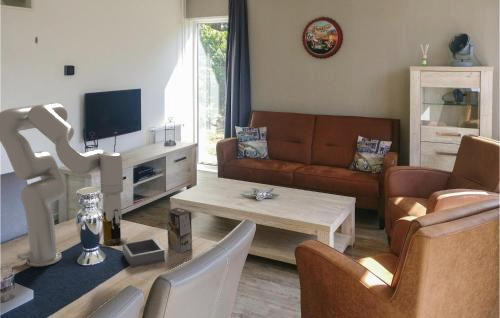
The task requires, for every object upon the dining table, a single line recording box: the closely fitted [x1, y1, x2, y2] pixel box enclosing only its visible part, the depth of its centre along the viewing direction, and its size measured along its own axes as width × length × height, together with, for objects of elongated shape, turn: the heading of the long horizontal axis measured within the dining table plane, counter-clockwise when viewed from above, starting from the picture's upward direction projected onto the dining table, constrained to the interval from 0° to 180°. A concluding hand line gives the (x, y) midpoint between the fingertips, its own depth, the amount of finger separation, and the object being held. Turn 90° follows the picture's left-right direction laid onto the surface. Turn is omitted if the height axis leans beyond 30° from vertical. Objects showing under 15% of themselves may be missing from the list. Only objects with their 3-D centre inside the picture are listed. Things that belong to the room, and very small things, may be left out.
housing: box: [122, 237, 166, 269], centre depth 183 cm, size 13×14×4 cm
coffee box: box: [166, 207, 193, 253], centre depth 191 cm, size 9×6×16 cm
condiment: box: [100, 212, 129, 248], centre depth 166 cm, size 7×8×12 cm
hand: (113, 234), depth 167 cm, fingers closed on condiment, 6 cm apart
